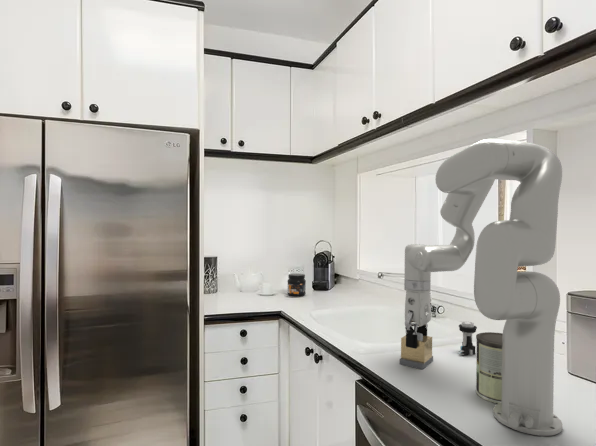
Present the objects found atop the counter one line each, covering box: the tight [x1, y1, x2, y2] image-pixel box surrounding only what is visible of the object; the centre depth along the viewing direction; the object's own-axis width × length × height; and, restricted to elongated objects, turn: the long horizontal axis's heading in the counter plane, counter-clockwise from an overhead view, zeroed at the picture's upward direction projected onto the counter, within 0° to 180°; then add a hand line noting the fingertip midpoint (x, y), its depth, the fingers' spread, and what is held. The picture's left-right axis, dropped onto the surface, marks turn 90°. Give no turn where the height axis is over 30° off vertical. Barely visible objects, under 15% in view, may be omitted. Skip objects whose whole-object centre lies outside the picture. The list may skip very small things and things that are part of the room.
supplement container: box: [286, 273, 307, 298], centre depth 225 cm, size 10×10×12 cm
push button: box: [458, 321, 478, 357], centre depth 125 cm, size 7×5×10 cm
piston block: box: [399, 333, 434, 370], centre depth 118 cm, size 9×7×8 cm
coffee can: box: [475, 331, 503, 405], centre depth 95 cm, size 10×10×14 cm
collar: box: [400, 334, 433, 363], centre depth 118 cm, size 7×7×6 cm
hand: (416, 343), depth 118 cm, fingers open, 8 cm apart
